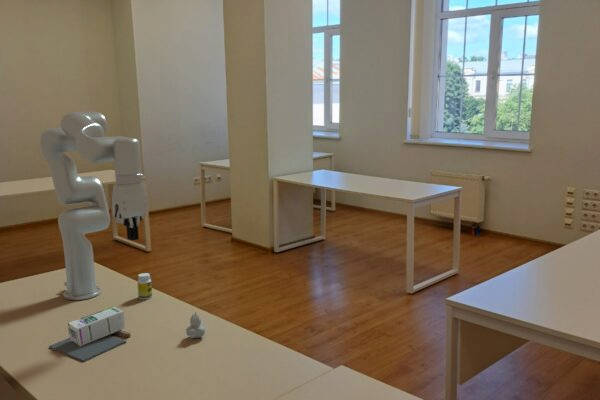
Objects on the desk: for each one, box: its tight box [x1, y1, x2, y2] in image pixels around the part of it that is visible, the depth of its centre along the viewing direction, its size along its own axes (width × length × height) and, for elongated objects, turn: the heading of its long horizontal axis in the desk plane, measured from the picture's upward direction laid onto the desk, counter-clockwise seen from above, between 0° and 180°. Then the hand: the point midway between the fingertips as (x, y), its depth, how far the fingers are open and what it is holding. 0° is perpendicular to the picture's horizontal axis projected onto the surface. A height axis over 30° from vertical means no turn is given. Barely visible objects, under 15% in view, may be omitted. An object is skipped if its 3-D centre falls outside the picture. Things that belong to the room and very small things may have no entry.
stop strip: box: [113, 329, 131, 339], centre depth 166 cm, size 12×1×1 cm, turn 56°
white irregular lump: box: [185, 311, 206, 339], centre depth 161 cm, size 5×7×8 cm
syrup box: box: [67, 306, 126, 346], centre depth 162 cm, size 6×6×14 cm
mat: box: [48, 334, 127, 363], centre depth 158 cm, size 16×14×1 cm
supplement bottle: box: [137, 272, 153, 300], centre depth 195 cm, size 5×5×8 cm
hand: (133, 239), depth 168 cm, fingers closed
